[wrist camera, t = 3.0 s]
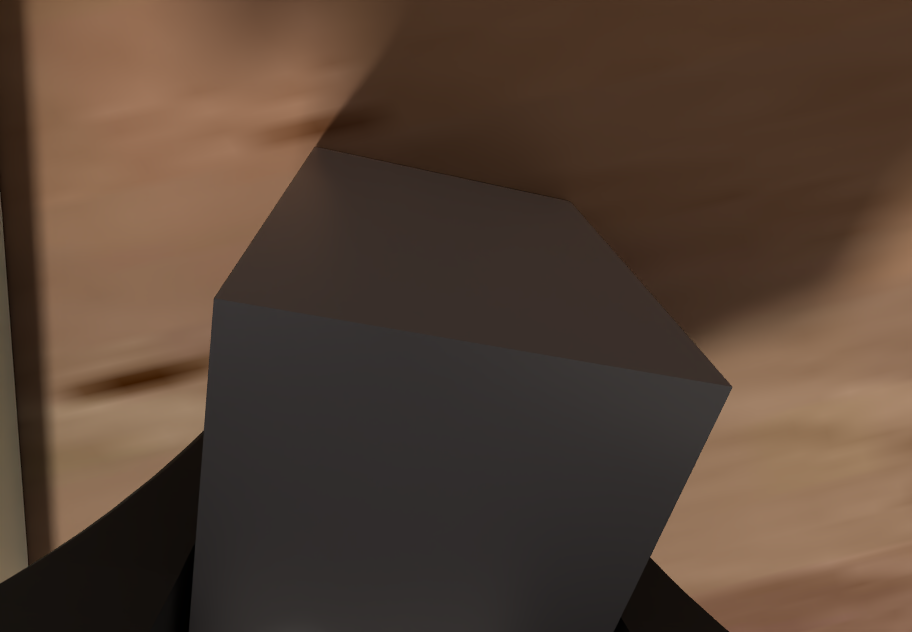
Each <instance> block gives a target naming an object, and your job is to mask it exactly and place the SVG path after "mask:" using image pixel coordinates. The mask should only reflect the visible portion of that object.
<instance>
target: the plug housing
mask: <svg viewBox="0 0 912 632" xmlns="http://www.w3.org/2000/svg"><path fill="white" fill-rule="evenodd" d="M731 389H732V386H731V385H730V384H729V382H728V381H727V380H726V379H725V378H724V377H723V376H722V374H721V373H720V372H719V371H718V370H717V369H716V368H715V366H714V365H713V364H712V363H711V362H710V361H709V360H708V358H707V357H706V356H705V355H704V354H703V353H702V352H701V350H700V349H699V348H698V347H697V346H696V345H695V344H694V342H693V341H692V340H691V339H690V338H689V337H688V336H687V334H686V333H685V332H684V331H683V330H682V329H681V327H680V326H679V325H678V324H677V323H676V322H675V321H674V319H673V318H672V317H671V316H670V315H669V314H668V313H667V311H666V310H665V309H664V308H663V307H662V306H661V305H660V303H659V302H658V301H657V300H656V299H655V298H654V297H653V295H652V294H651V293H650V292H649V291H648V290H647V289H646V287H645V286H644V285H643V284H642V283H641V282H640V281H639V279H638V278H637V277H636V276H635V275H634V274H633V273H632V271H631V270H630V269H629V268H628V267H627V266H626V265H625V263H624V262H623V261H622V260H621V259H620V258H619V257H618V255H617V254H616V253H615V252H614V251H613V250H612V249H611V247H610V246H609V245H608V244H607V243H606V242H605V241H604V239H603V238H602V237H601V236H600V235H599V234H598V233H597V231H596V230H595V229H594V228H593V227H592V226H591V225H590V223H589V222H588V221H587V220H586V219H585V218H584V217H583V215H582V214H581V213H580V212H579V211H578V210H577V209H576V207H575V206H574V205H573V204H572V203H571V202H570V201H566V200H561V199H557V198H552V197H547V196H543V195H538V194H533V193H529V192H524V191H519V190H515V189H510V188H505V187H501V186H496V185H491V184H487V183H482V182H477V181H473V180H468V179H463V178H459V177H454V176H449V175H445V174H440V173H435V172H431V171H426V170H421V169H417V168H412V167H407V166H403V165H398V164H394V163H389V162H384V161H380V160H375V159H370V158H366V157H361V156H356V155H352V154H347V153H342V152H338V151H333V150H328V149H324V148H319V147H314V149H313V150H312V152H311V153H310V155H309V156H308V158H307V159H306V161H305V162H304V164H303V165H302V167H301V168H300V170H299V171H298V173H297V174H296V176H295V177H294V179H293V180H292V182H291V183H290V185H289V186H288V188H287V189H286V191H285V192H284V194H283V195H282V197H281V198H280V200H279V201H278V203H277V204H276V206H275V207H274V209H273V210H272V212H271V213H270V215H269V216H268V218H267V219H266V221H265V222H264V224H263V225H262V227H261V228H260V230H259V231H258V233H257V234H256V236H255V237H254V239H253V240H252V242H251V243H250V245H249V246H248V248H247V249H246V251H245V252H244V254H243V255H242V257H241V258H240V260H239V261H238V263H237V264H236V266H235V267H234V269H233V270H232V272H231V273H230V275H229V276H228V278H227V279H226V281H225V282H224V284H223V285H222V287H221V288H220V290H219V291H218V293H217V294H216V296H215V297H214V304H213V317H212V330H211V344H210V357H209V370H208V384H207V397H206V410H205V423H204V437H203V450H202V463H201V477H200V490H199V503H198V517H197V530H196V543H195V556H194V570H193V583H192V596H191V610H190V623H189V632H614V630H615V628H616V626H617V624H618V622H619V620H620V618H621V616H622V614H623V611H624V609H625V607H626V605H627V603H628V601H629V599H630V597H631V595H632V593H633V591H634V589H635V587H636V585H637V583H638V581H639V579H640V576H641V574H642V572H643V570H644V568H645V566H646V564H647V562H648V560H649V558H650V556H651V554H652V552H653V550H654V548H655V546H656V544H657V541H658V539H659V537H660V535H661V533H662V531H663V529H664V527H665V525H666V523H667V521H668V519H669V517H670V515H671V513H672V511H673V509H674V506H675V504H676V502H677V500H678V498H679V496H680V494H681V492H682V490H683V488H684V486H685V484H686V482H687V480H688V478H689V476H690V474H691V471H692V469H693V467H694V465H695V463H696V461H697V459H698V457H699V455H700V453H701V451H702V449H703V447H704V445H705V443H706V441H707V439H708V436H709V434H710V432H711V430H712V428H713V426H714V424H715V422H716V420H717V418H718V416H719V414H720V412H721V410H722V408H723V406H724V404H725V401H726V399H727V397H728V395H729V393H730V391H731Z"/></svg>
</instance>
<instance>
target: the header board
mask: <svg viewBox="0 0 912 632" xmlns="http://www.w3.org/2000/svg"><path fill="white" fill-rule="evenodd" d="M26 567H28V555H27V541H26V528H25V515H24V501H23V488H22V474H21V461H20V448H19V434H18V421H17V408H16V394H15V381H14V368H13V354H12V341H11V328H10V314H9V301H8V288H7V274H6V261H5V248H4V234H3V221H2V208H1V194H0V583H2V582H3V581H5V580H7V579H8V578H10V577H12V576H13V575H15V574H16V573H18V572H20V571H21V570H23V569H25V568H26Z"/></svg>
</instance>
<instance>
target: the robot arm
mask: <svg viewBox="0 0 912 632" xmlns="http://www.w3.org/2000/svg"><path fill="white" fill-rule="evenodd" d="M203 437H204V431H203V432H202V433H201V434H200V435H199V436H198V437H197V438H196V439H195V440H194V441H192V442H191V443H190V444H189V445H188V446H187V447H186V448H185V449H184V450H183V451H182V452H181V453H179V454H178V455H177V456H176V457H175V458H174V459H173V460H172V461H170V462H169V463H168V464H167V465H166V466H165V467H164V468H163V469H161V470H160V471H159V472H158V473H157V474H156V475H155V476H153V477H152V478H151V479H150V480H149V481H147V482H146V483H145V484H144V485H142V486H141V487H140V488H139V489H137V490H136V491H135V492H133V493H132V494H131V495H130V496H128V497H127V498H126V499H125V500H123V501H122V502H121V503H120V504H118V505H117V506H116V507H115V508H113V509H112V510H111V511H109V512H108V513H107V514H105V515H104V516H103V517H101V518H100V519H98V520H97V521H96V522H94V523H93V524H92V525H90V526H89V527H87V528H86V529H85V530H83V531H82V532H80V533H79V534H77V535H76V536H74V537H73V538H71V539H70V540H68V541H67V542H65V543H64V544H62V545H61V546H59V547H58V548H56V549H55V550H54V551H52V552H50V553H49V554H47V555H46V556H44V557H43V558H41V559H39V560H38V561H36V562H34V563H33V564H31V565H30V566H28V567H26V568H25V569H23V570H21V571H20V572H18V573H16V574H15V575H13V576H12V577H10V578H8V579H7V580H5V581H3V582H2V583H0V632H189V623H190V610H191V596H192V583H193V570H194V556H195V543H196V530H197V517H198V503H199V490H200V477H201V463H202V450H203ZM614 632H729V631H728V630H726V629H725V628H724V627H723V626H722V625H721V624H719V623H718V622H717V621H716V620H715V619H714V618H713V617H712V616H711V615H709V614H708V613H707V612H706V611H705V610H704V609H703V608H702V607H701V606H699V605H698V604H697V603H696V602H695V601H694V600H693V599H692V598H691V597H689V596H688V595H687V594H686V593H685V592H684V591H683V590H682V589H681V588H680V587H679V586H678V585H677V584H676V583H675V582H674V581H673V580H672V579H671V578H670V577H669V576H668V575H667V574H666V573H665V572H664V571H663V570H662V569H661V568H660V567H659V566H658V565H657V564H656V563H655V562H654V561H653V560H652V559H651V558H649V560H648V562H647V564H646V566H645V568H644V570H643V572H642V574H641V576H640V579H639V581H638V583H637V585H636V587H635V589H634V591H633V593H632V595H631V597H630V599H629V601H628V603H627V605H626V607H625V609H624V611H623V614H622V616H621V618H620V620H619V622H618V624H617V626H616V628H615V630H614Z"/></svg>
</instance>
